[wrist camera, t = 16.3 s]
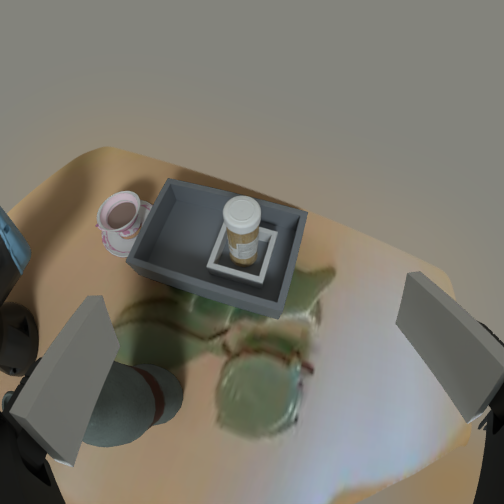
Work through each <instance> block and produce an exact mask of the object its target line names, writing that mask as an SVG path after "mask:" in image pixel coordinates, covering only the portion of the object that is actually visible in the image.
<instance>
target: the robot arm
mask: <svg viewBox="0 0 504 504" xmlns="http://www.w3.org/2000/svg"><path fill="white" fill-rule="evenodd" d="M30 258H31V249H30V246H29V245H28V243H27V241H26V240H25V238H24V237H23V235H22V234H21V233H20V231H19V230H18V228H17V227H16V226H15V224H14V223H13V222H12V220H11V219H10V218H9V216H8V215H7V214H6V213H5V211H4V210H3V209H2V208H1V206H0V371H2V372H4V373H5V374H7V375H10V376H18V377H20V376H24V375H25V377H23V378H22V380H21V382H20V385H18V386H17V388H16V390H15V391H14V393H13V395H12V396H11V398H10V400H9V401H8V403H7V405H6V407H5V408H4V410H3V412H2V413H1V411H0V504H66V503H65V501H64V499H63V497H62V495H61V492H60V490H59V488H58V485H57V483H56V480H55V478H54V475H53V473H52V470H51V467H50V465H49V463H48V461H47V460H46V459H45V457H46V454H47V453H48V454H49V455H50V456H51V457H52V458H53V459H54V460H55V461H56V462H59V463H62V464H65V465H68V466H71V467H74V464H75V461H76V457H77V454H78V451H79V448H80V445H81V442H82V439H83V437H84V434H85V431H86V428H87V425H88V423H89V420H90V417H91V415H92V412H93V409H94V407H95V404H96V402H97V399H98V397H99V394H100V392H101V389H102V387H103V385H104V382H105V380H106V377H107V375H108V373H109V370H110V368H111V366H112V363H113V361H114V359H115V357H116V354H117V352H118V350H119V348H120V345H119V342H118V340H117V337H116V334H115V332H114V329H113V326H112V323H111V320H110V318H109V315H108V312H107V309H106V306H105V302H104V299H103V296H87V297H86V299H85V300H84V301H83V303H82V304H81V305H80V306H79V308H78V309H77V310H76V312H75V313H74V314H73V315H72V317H71V318H70V319H69V321H68V322H67V323H66V325H65V326H64V327H63V329H62V330H61V332H60V333H59V334H58V336H57V337H56V339H55V340H54V341H53V343H52V344H51V346H50V347H49V349H48V350H47V351H46V353H45V354H44V356H43V357H42V358H41V357H40V358H39V359H38V360H37V361H35V360H36V356H37V351H38V332H37V327H36V323H35V321H34V318H33V316H32V314H31V313H30V311H29V310H28V309H27V308H26V307H24V306H22V305H20V304H17V303H14V302H4V301H5V299H6V298H7V296H8V295H9V293H10V291H11V290H12V288H13V287H14V285H15V284H16V282H17V281H18V279H19V278H20V276H21V275H22V274H23V271H24V269H25V267H26V266H27V264H28V262H29V261H30ZM396 325H397V326H398V327H399V329H400V330H401V331H402V333H403V334H404V335H405V336H406V338H407V339H408V340H409V342H410V343H411V344H412V346H413V347H414V348H415V350H416V351H417V352H418V354H419V355H420V356H421V358H422V359H423V360H424V362H425V363H426V364H427V366H428V367H429V368H430V370H431V371H432V373H433V374H434V375H435V377H436V378H437V380H438V381H439V382H440V384H441V385H442V387H443V388H444V390H445V391H446V393H447V394H448V395H449V397H450V398H451V400H452V401H453V403H454V404H455V406H456V407H457V409H458V410H459V412H460V413H461V415H462V417H463V418H464V420H465V421H466V423H467V424H468V423H470V422H471V421H473V420H474V419H476V418H478V417H479V416H481V414H482V413H483V412H484V410H485V409H486V408H487V406H488V405H489V406H490V408H491V411H490V412H489V413H488V414H487V416H486V417H485V418H484V419H483V421H482V422H481V423H480V425H479V427H478V429H481V428H482V426H483V425H484V424H485V423H486V422H487V425H486V426H485V427H484V429H483V430H486V440H485V448H484V455H483V461H482V468H481V473H480V478H479V482H478V487H477V491H476V495H475V499H474V502H473V504H504V343H503V342H502V341H501V340H499V338H498V337H497V336H496V335H495V334H493V332H492V331H491V330H490V329H488V327H487V326H485V325H484V324H482V323H480V322H478V321H477V320H475V319H474V318H473V317H472V316H471V315H470V314H469V313H468V312H467V311H466V310H465V309H463V308H462V307H461V306H460V305H459V304H458V303H457V302H456V301H454V300H453V299H452V298H451V297H450V296H449V295H448V294H446V293H445V292H444V291H443V290H442V289H441V288H439V287H438V286H437V285H436V284H435V283H434V282H432V281H431V280H430V279H429V278H428V277H426V276H425V275H424V274H423V273H421V272H420V271H419V272H411V273H407V277H406V282H405V287H404V291H403V296H402V300H401V304H400V308H399V312H398V316H397V320H396Z"/></svg>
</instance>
